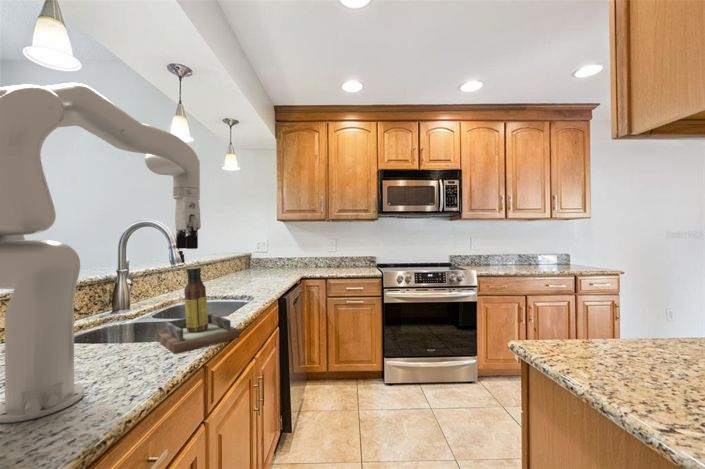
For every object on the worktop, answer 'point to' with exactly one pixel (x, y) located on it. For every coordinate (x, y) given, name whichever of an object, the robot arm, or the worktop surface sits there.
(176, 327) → the dock
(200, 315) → the sauce bottle
